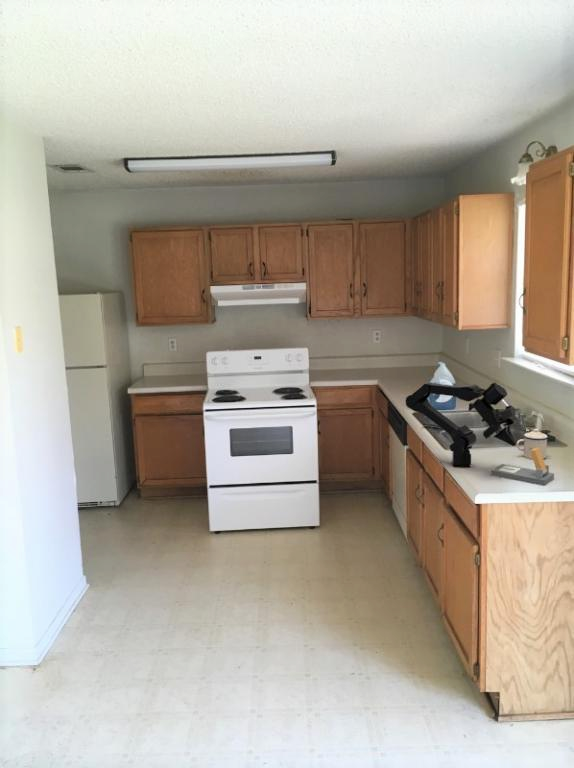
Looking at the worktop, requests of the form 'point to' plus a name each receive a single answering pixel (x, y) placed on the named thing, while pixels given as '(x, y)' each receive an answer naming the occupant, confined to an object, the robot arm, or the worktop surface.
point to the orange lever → (538, 460)
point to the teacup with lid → (534, 443)
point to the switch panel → (523, 474)
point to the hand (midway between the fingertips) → (515, 445)
